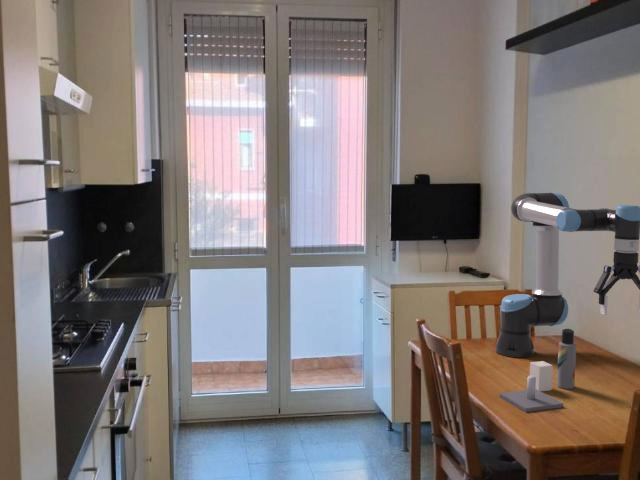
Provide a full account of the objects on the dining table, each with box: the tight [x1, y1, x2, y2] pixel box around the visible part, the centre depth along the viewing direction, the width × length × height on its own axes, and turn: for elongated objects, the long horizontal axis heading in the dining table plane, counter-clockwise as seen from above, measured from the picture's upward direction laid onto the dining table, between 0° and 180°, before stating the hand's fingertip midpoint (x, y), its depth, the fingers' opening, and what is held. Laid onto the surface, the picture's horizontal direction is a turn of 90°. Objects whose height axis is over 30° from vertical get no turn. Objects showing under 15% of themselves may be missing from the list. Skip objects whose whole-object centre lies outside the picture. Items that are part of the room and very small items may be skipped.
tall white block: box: [529, 360, 554, 392], centre depth 222 cm, size 5×5×9 cm
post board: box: [499, 375, 564, 413], centre depth 209 cm, size 14×14×8 cm
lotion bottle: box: [556, 328, 577, 390], centre depth 224 cm, size 6×6×20 cm
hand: (622, 313), depth 220 cm, fingers open, 13 cm apart
